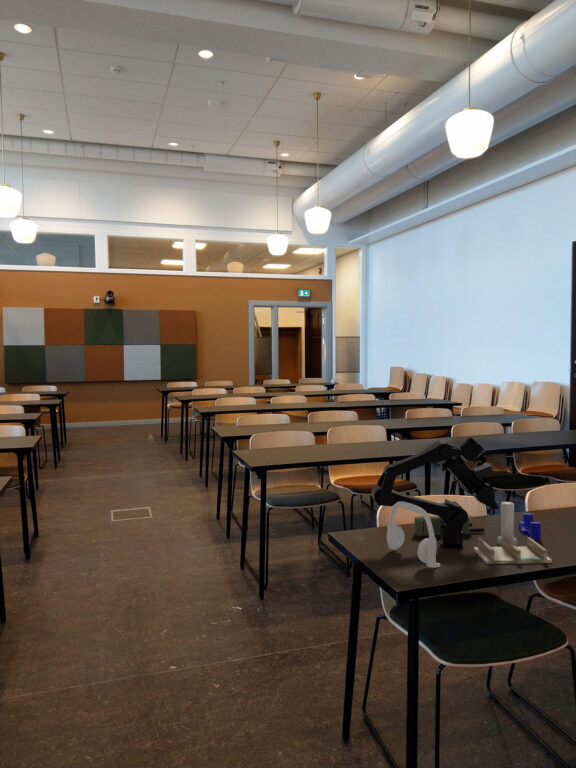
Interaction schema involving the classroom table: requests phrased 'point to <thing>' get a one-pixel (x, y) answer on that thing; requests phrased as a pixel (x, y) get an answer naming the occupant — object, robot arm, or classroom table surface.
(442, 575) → the classroom table surface
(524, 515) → the blue curved cradle
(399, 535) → the headset
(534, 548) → the slot rack
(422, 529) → the handheld radio
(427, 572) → the classroom table surface
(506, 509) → the white bulb knob
